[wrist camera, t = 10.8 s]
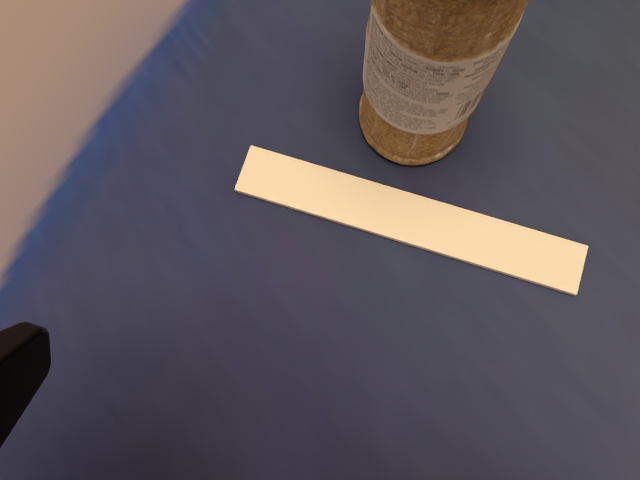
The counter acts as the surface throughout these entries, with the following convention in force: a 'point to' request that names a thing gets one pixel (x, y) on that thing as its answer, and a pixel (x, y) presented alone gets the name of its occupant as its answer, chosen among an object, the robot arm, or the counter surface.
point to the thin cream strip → (413, 220)
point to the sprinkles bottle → (429, 71)
